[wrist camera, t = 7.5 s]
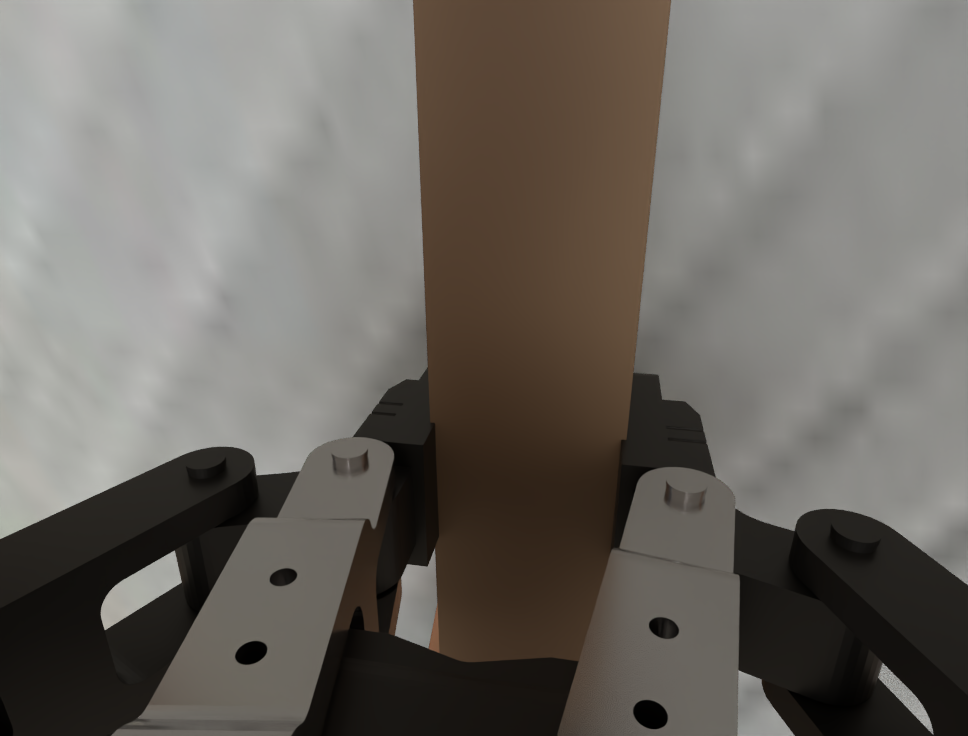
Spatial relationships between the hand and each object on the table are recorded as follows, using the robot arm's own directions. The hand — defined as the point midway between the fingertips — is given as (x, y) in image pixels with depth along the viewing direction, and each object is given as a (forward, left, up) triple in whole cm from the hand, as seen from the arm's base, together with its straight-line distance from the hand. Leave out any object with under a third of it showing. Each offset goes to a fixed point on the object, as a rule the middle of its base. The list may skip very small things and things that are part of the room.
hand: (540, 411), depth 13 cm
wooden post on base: (0, +2, -1) cm, 2 cm away
